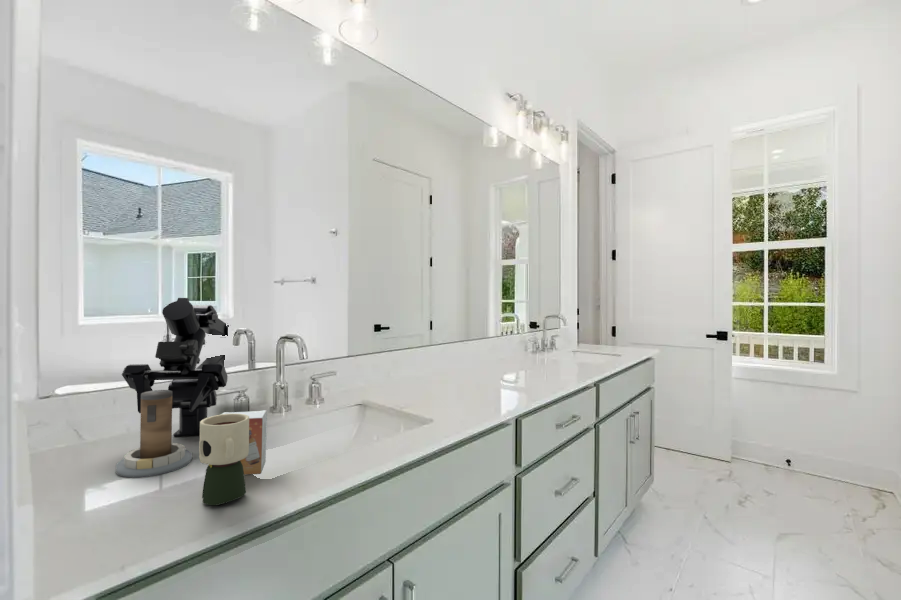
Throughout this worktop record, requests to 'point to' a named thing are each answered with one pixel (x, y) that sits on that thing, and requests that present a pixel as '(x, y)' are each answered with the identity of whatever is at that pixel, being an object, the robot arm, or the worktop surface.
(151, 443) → the brown wooden canister
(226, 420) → the character mug
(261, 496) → the worktop surface
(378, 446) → the worktop surface
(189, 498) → the worktop surface
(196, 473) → the worktop surface
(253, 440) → the small box
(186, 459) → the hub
